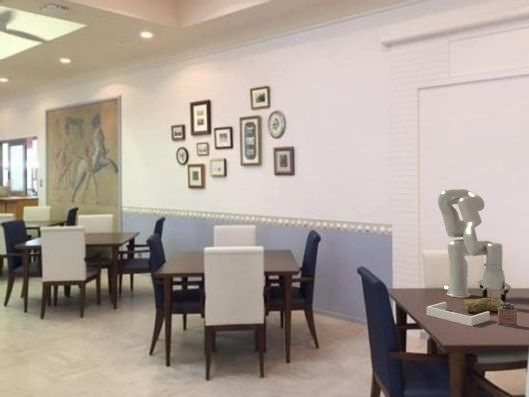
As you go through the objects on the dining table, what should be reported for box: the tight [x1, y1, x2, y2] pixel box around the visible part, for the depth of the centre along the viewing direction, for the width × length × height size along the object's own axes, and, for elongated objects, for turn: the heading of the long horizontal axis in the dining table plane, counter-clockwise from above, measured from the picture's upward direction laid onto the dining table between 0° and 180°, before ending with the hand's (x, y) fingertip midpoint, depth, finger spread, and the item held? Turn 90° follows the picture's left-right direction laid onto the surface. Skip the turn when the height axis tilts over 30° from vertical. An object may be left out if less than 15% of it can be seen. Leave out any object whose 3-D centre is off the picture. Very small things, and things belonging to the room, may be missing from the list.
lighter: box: [497, 302, 518, 327], centre depth 230 cm, size 8×3×10 cm, turn 71°
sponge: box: [462, 297, 506, 313], centre depth 254 cm, size 13×8×20 cm
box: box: [425, 301, 491, 327], centre depth 244 cm, size 24×15×4 cm, turn 36°
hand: (494, 299), depth 263 cm, fingers open, 9 cm apart
